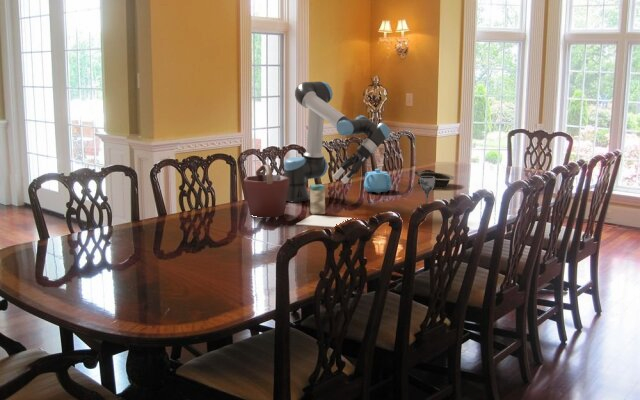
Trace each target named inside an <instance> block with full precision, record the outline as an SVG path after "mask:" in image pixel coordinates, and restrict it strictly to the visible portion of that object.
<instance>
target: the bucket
mask: <svg viewBox="0 0 640 400" xmlns="http://www.w3.org/2000/svg"><path fill="white" fill-rule="evenodd" d="M264 170H265V174H262V172H263V171H264ZM289 184H290V182H289V178H288V177H285V175H281V174H278V175H277V174H273V171H272V166H271V165H270V164H262V165H260V167H259V168H258V169H256V170H255V175H250V176H245V178H244V179H243V188H244V193H245V197H246V201H247V206H248V210H249V211H248V212H249V215H253V216H257V217H277V218H279V216H280V217H282V216H284V215H285V212H286V206H287V202H286V201H287V195H288V190H289ZM283 214H284V215H283ZM281 215H282V216H281Z"/></svg>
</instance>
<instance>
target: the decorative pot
mask: <svg viewBox="0 0 640 400" xmlns="http://www.w3.org/2000/svg"><path fill="white" fill-rule="evenodd" d="M391 176H392V175H390V174H389V172H388V171H383V170H381V168H375V169H374V170H373V171H367V172H366V173H365V174H364V181H363V188H364V190H365V191H367V193H373V192H374V193H375V194H377V193H378V195H379V194H381V192H382V193H388V191H390V190H391V189H392V187H393V185H392V177H391Z"/></svg>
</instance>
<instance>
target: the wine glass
mask: <svg viewBox="0 0 640 400" xmlns="http://www.w3.org/2000/svg"><path fill="white" fill-rule="evenodd" d="M419 178H420V185H419V186H420V188H421V190H422V192H424V194H425V198H426V199H425V200H426V202H428V203H429V201H428V199H429V195H430V192H432V190H433V189H435V188H434V185H435V177H433V176H421V177H420V176H419ZM426 202H425V203H426Z"/></svg>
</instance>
